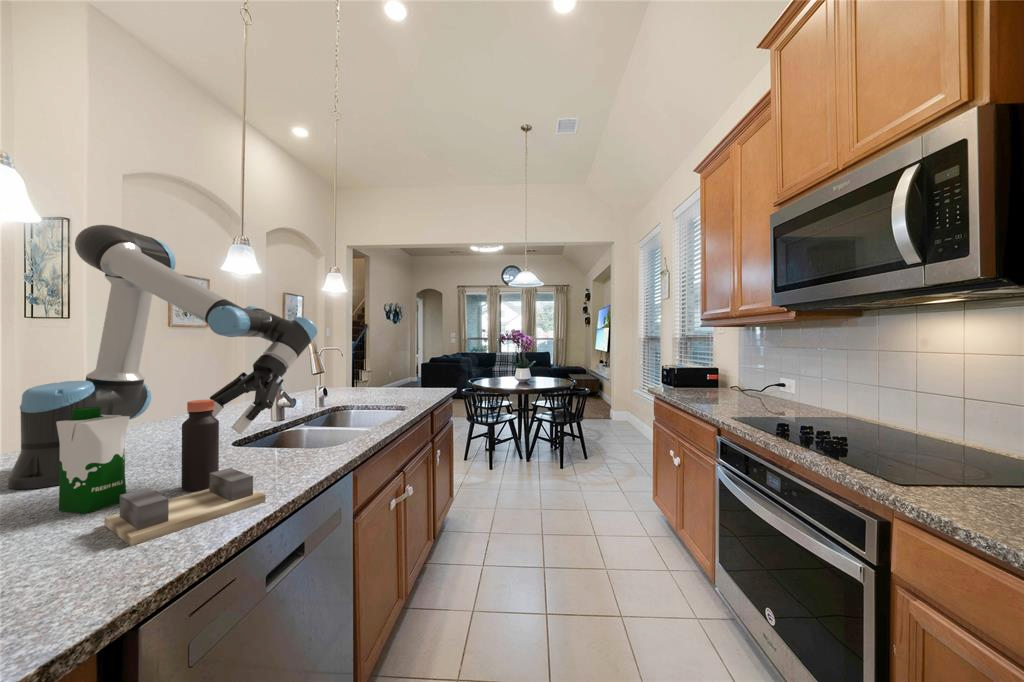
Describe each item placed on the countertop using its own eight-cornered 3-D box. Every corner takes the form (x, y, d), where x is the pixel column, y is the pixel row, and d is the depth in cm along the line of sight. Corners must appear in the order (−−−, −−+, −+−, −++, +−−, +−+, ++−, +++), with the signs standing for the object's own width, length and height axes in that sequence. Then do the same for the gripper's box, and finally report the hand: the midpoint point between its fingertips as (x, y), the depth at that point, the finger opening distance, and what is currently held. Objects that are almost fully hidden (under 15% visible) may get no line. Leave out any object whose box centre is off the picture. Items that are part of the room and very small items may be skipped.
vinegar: (173, 491, 87) (173, 403, 87) (198, 480, 94) (199, 398, 94) (202, 492, 87) (202, 403, 87) (225, 481, 94) (226, 399, 94)
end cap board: (104, 525, 71) (104, 495, 71) (233, 488, 89) (233, 464, 89) (130, 546, 64) (130, 513, 64) (265, 501, 82) (265, 475, 82)
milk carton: (103, 495, 85) (104, 404, 85) (135, 498, 83) (136, 406, 83) (48, 512, 76) (49, 411, 76) (83, 516, 75) (84, 413, 75)
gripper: (316, 372, 105) (264, 441, 91) (252, 370, 114) (196, 432, 100) (299, 353, 100) (241, 423, 86) (234, 352, 109) (171, 415, 95)
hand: (216, 428), depth 93 cm, fingers open, 13 cm apart
